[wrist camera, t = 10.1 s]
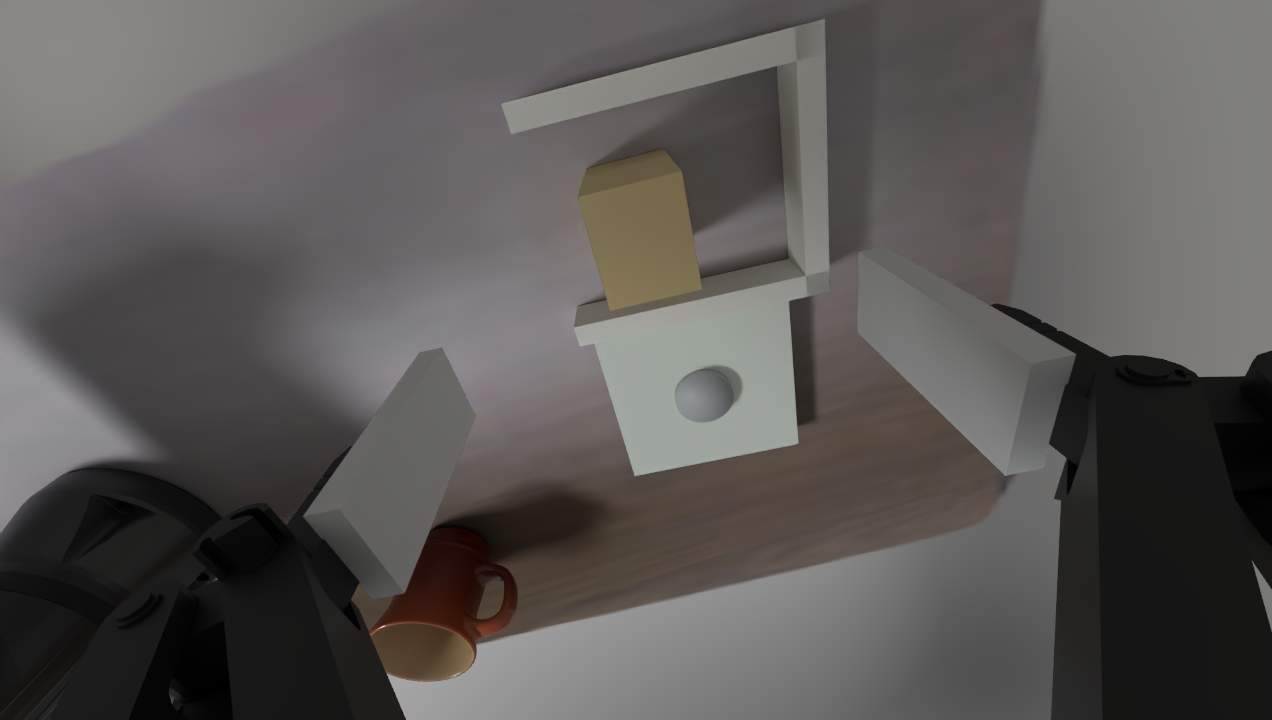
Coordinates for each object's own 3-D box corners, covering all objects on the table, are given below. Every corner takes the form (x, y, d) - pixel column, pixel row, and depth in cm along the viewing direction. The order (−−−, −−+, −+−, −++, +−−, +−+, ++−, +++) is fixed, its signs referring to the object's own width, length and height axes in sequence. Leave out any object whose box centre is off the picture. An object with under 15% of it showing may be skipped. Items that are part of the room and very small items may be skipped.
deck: (625, 461, 42) (626, 490, 39) (513, 101, 28) (501, 103, 25) (816, 423, 41) (832, 450, 38) (801, 26, 27) (824, 18, 24)
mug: (435, 581, 50) (397, 689, 41) (393, 526, 45) (339, 634, 36) (544, 558, 48) (528, 664, 40) (511, 500, 44) (485, 604, 35)
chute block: (610, 257, 33) (609, 310, 25) (586, 168, 30) (577, 197, 22) (680, 241, 33) (702, 289, 25) (663, 148, 30) (681, 170, 22)
